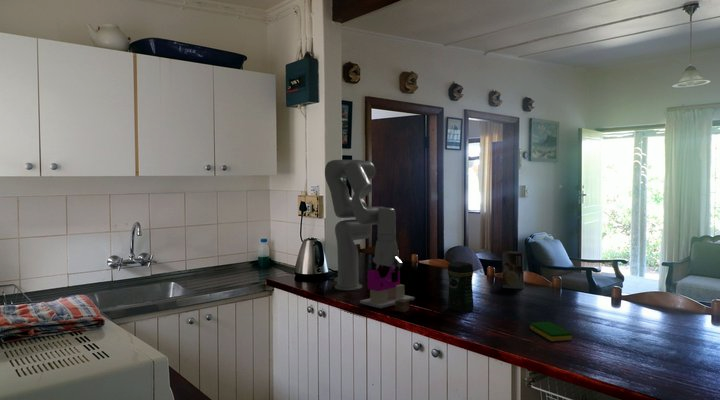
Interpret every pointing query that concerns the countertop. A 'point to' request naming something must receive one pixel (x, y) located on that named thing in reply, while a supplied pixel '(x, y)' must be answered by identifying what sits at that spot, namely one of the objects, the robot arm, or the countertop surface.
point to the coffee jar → (460, 286)
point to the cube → (402, 305)
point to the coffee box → (513, 270)
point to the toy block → (381, 280)
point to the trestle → (386, 297)
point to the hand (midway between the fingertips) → (387, 279)
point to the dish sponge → (551, 331)
